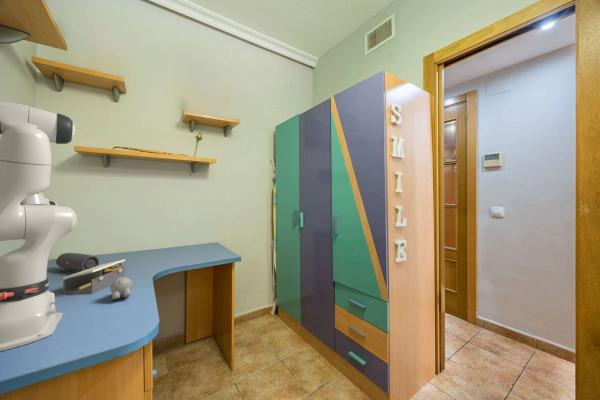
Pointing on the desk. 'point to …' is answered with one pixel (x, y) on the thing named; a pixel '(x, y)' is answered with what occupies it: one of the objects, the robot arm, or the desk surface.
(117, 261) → the cover
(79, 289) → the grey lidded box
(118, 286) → the grey toy animal
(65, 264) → the bluetooth speaker
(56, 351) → the desk surface
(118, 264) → the electronic device
